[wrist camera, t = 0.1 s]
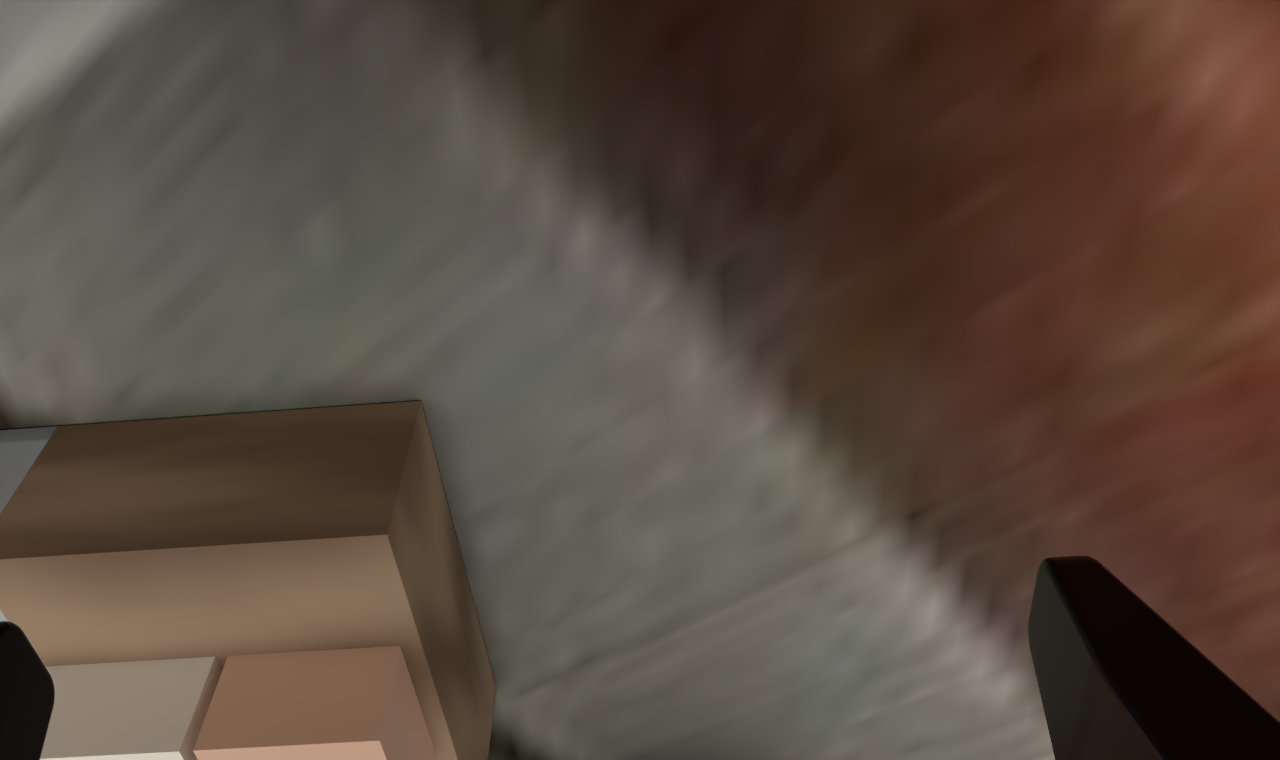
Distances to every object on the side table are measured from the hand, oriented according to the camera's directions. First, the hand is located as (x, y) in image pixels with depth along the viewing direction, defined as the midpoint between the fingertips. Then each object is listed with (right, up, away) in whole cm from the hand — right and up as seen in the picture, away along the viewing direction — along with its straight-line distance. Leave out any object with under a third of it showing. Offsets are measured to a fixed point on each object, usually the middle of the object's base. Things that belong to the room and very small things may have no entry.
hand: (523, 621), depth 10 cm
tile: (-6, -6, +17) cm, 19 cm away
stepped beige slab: (-8, -3, +21) cm, 22 cm away
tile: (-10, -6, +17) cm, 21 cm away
